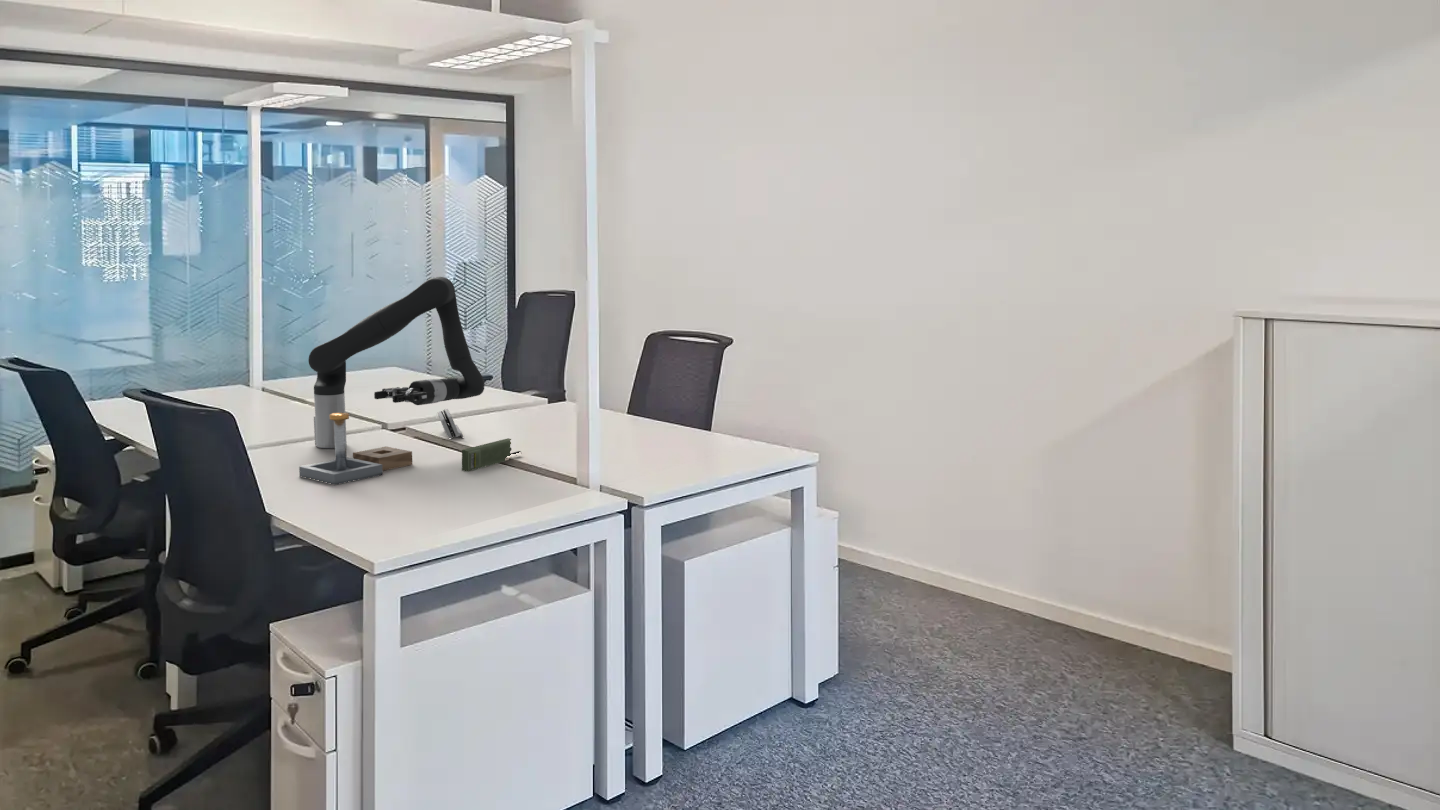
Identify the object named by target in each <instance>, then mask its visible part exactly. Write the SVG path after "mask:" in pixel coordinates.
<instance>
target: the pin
mask: <svg viewBox="0 0 1440 810" xmlns="http://www.w3.org/2000/svg"><path fill="white" fill-rule="evenodd" d="M329 416H330V420H334V438H335V448H334V456H335V457H334V460H335V463H336V472H339V471H344V470H347V459H346V457H347V445H346V441H347V431H346V432H345V420H349V419H350V413H348V412H345V413H332V414H330V415H329Z"/></svg>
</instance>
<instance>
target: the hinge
mask: <svg viewBox="0 0 1440 810" xmlns="http://www.w3.org/2000/svg"><path fill="white" fill-rule="evenodd" d="M437 415H438V418H439V421H440V423H441V425H442V428H443V430H444V432H445V434H446V437H447V438H448V439H449V438H452V437H453V436H454V437H456V438H457V437H460V436H461V438H462V437H464V435H463V432H462V431H461V428H460V427H459V425H458V424H455V421H454V418H453V416H452V415H451V412H450V411H449V408H445V409H442V410H439V411H438V412H437ZM454 437H453V438H454Z"/></svg>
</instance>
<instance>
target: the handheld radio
mask: <svg viewBox="0 0 1440 810" xmlns="http://www.w3.org/2000/svg"><path fill="white" fill-rule="evenodd" d="M511 440H512V438H504V439H500V440H499V439H498V440H497V441H492V442H487V443H484V444H483V443H482V444H479V445H476V446H471V447H468V448H464V449H461V472H471V471H474V470H478V468H479V469H481V468H482V469H483V468H486V467H490V466H493V465H496V464H500V463H504V462H506V461H505V458H506V457H507V456H510V455H511V454H516V453H519V452H521V453H522V451H521V450H518V451H515V452H511V451H512V447H511V444H512V442H511ZM485 466H486V467H485Z"/></svg>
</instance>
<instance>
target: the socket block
mask: <svg viewBox="0 0 1440 810" xmlns="http://www.w3.org/2000/svg"><path fill="white" fill-rule="evenodd" d="M352 458H353V459H358V460H363V461H368V462H373V463H377V464H382V472H384V471H388V470H389V471H390V470H393V469H398V468H402V467H406V466H407V467H408V466H413V451H410V450H405V449H403V448H402V449H401V448H396V447H391V446H382V447H381V446H380V447H375V448H371V449H367V450H366V449H365V450H361V451H355V452H352Z"/></svg>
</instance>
